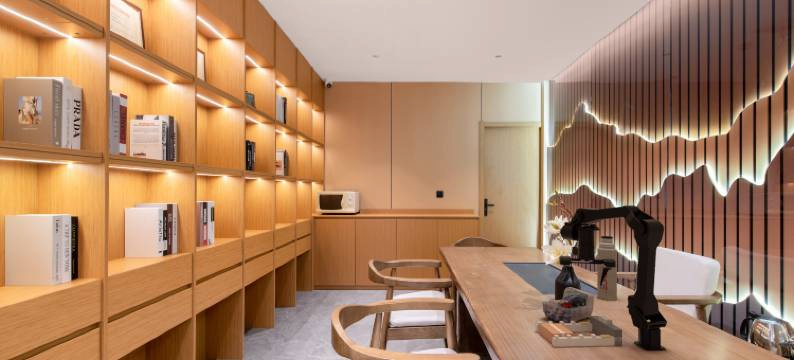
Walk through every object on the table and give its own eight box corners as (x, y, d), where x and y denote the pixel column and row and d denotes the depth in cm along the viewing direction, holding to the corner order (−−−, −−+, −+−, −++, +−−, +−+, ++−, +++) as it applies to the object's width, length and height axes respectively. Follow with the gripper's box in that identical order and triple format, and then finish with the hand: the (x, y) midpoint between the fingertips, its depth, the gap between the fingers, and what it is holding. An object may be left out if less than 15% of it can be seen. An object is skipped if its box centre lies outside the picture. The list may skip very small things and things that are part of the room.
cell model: (598, 289, 167) (569, 298, 155) (598, 318, 167) (569, 329, 155) (566, 283, 177) (537, 291, 165) (567, 310, 177) (537, 320, 165)
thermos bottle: (608, 301, 192) (608, 237, 192) (593, 297, 199) (593, 235, 199) (621, 299, 195) (620, 236, 196) (605, 295, 202) (605, 234, 203)
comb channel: (622, 345, 138) (622, 324, 138) (554, 346, 136) (554, 325, 136) (596, 329, 153) (596, 311, 153) (535, 331, 151) (535, 312, 151)
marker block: (573, 344, 139) (573, 333, 139) (552, 344, 139) (552, 333, 139) (559, 333, 149) (559, 323, 149) (539, 334, 149) (539, 323, 149)
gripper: (610, 240, 166) (610, 282, 165) (557, 239, 171) (558, 279, 171) (615, 244, 155) (616, 288, 155) (559, 242, 160) (560, 285, 160)
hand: (586, 284), depth 160 cm, fingers open, 9 cm apart
